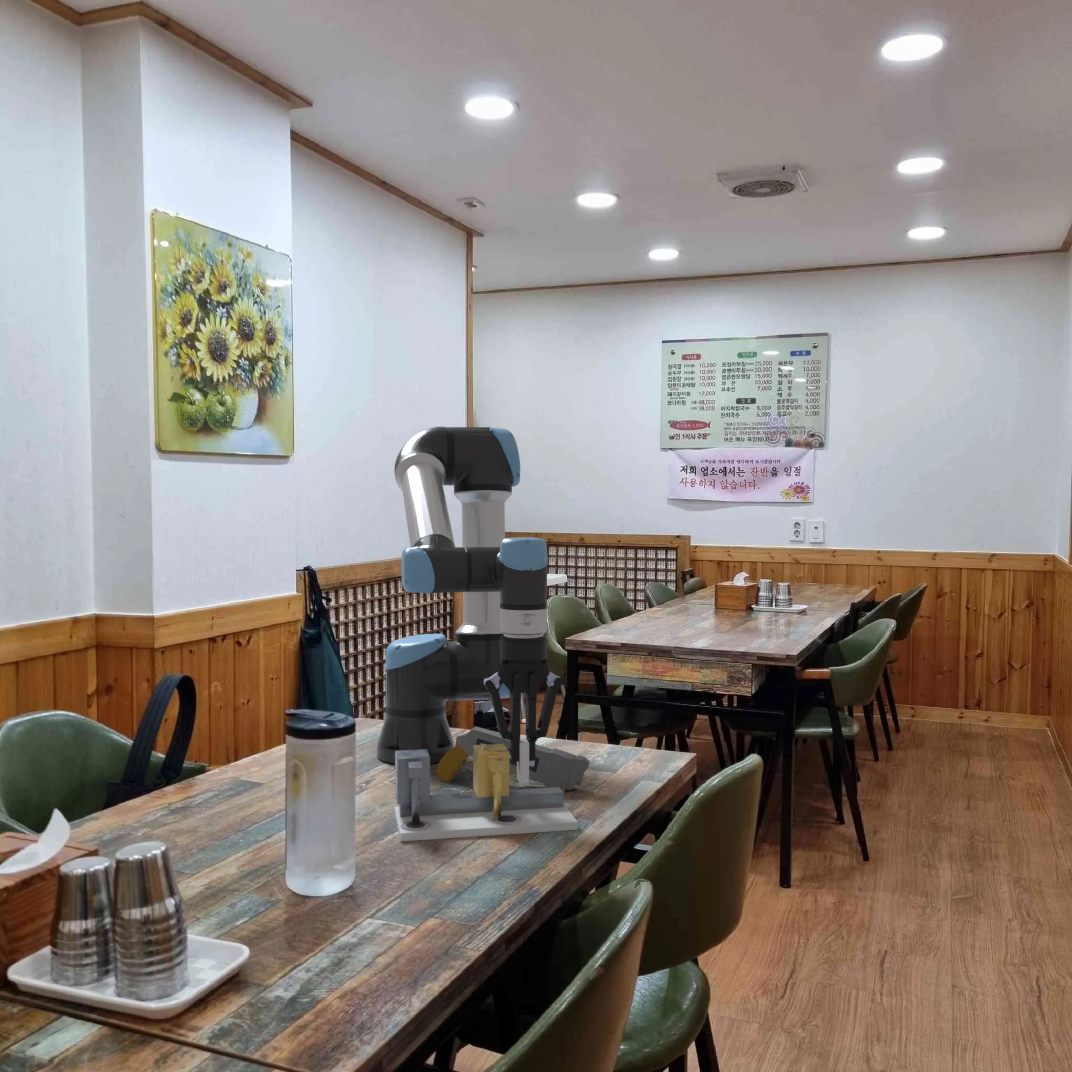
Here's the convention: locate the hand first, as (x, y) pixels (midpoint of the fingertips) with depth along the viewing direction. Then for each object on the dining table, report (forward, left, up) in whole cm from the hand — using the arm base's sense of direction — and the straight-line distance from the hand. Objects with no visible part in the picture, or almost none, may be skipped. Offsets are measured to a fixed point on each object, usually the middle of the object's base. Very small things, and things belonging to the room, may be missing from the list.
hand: (522, 780), depth 161 cm
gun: (-16, +1, -6) cm, 17 cm away
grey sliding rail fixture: (+2, -7, -4) cm, 8 cm away
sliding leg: (+2, -5, -4) cm, 7 cm away
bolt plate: (+3, -7, -5) cm, 9 cm away
